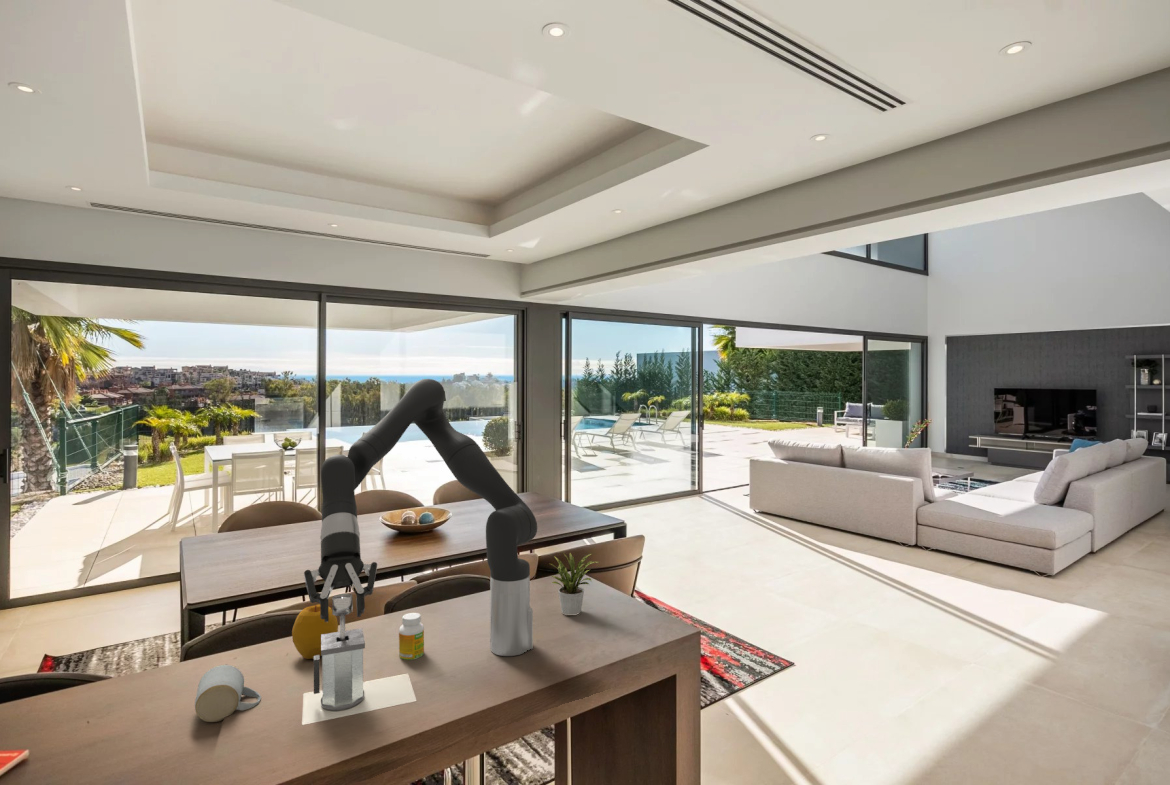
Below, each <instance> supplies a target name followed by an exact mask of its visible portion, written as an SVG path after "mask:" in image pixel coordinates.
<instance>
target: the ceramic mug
mask: <svg viewBox="0 0 1170 785" xmlns="http://www.w3.org/2000/svg"><path fill="white" fill-rule="evenodd" d="M244 685H245V677H244V674H243V673H242V671H241V670H240V669H239V668H237V667H236V666H233V665H229V664H221V665H217V666H214V667H211V668H210V669H209V670H207V671H206V672H205V673H204V674H203V675H202V677H201V678H200V680H199V682H198V685H197V686H198V687H197V691H196V695H195V700H194V708H195V709H194V710H195V713H196V715H197V716H198V718H199V719H200V720H201V721H204V722H206V723H218V722H221V721H224V720H225V718H227V717H229V716H231V715H232V714H234V712H235V711H245V710H249V709H252V708H254V707H256V706H257V705H259V703H260V702H261V700H262V696H261V694H260V693H259V692H258V691H256V690H255V689H253V688H251V687H249V686H244ZM242 696H244V697H251V698H253V697H254V698H256V700H257V701H255V702H244V701H241V698H242Z"/></svg>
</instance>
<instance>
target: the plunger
mask: <svg viewBox="0 0 1170 785" xmlns="http://www.w3.org/2000/svg"><path fill="white" fill-rule="evenodd" d="M331 601H332V602H331V603H332V605H331V606H332V607H331V609H332V614H333V615H335V616H336V617H339V632H340V641H345V631H346V616H347V615H351V613H353V609H354V608H353V604H354V603H353V594H352V593H339V594H336V595H334V596H332V600H331Z"/></svg>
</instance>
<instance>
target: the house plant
mask: <svg viewBox="0 0 1170 785" xmlns="http://www.w3.org/2000/svg"><path fill="white" fill-rule="evenodd" d="M562 553H563V555H564V557H565V558H566V559H567V561H568V565H569V566H568V567H569V572H570V573H569V572H568V570H567V567H566V566H565V564H564V563H563V562H562V561H561V560H560V559H559V558H558V557H556V556H554V558H555V560H556V561H557V563H558V566H557V567H556V566H555V565H554V564H552V563H550V565H551V566H553V567H555V568H556V569H557V570H558V573H556V575H557V576H556V575H551V577H552V578H554V579H556V580H557V581H552V582H551V584H555V585H556V584H557V585H559V586H561V587H559V588H558V597H559V603H560V610H561V614H562V613H564V614H577V613H580V612H581V613H582V606H583V599H584V593H585V588H583V587H582V586H580V585H589V586H590V583H589V582H587V581H590V582H591V583H593V582H592V578H590V577H585V578H583V577H584V576H585V575H586V574H587V573H588V572H589V571H590V569H587V570H586V568H587V567H588V566H590V565H591V564H594V563H596V564H597V563H598V561H593V560H590V561H588V562H587V563H584V562H585V561H586V560H587V558H588V557H589V556H591V555H592V553H590V554H587V555H585V556H584V557H583V558H582V559H581V560H580V561H579V562H578V563H577V566H576V563H575V558H574V556H573V555H572V553H571V552H569V555H568V554H567V555H566V554H565V552H562ZM575 566H576V567H575ZM575 568H576V569H575ZM558 575H559V576H560V577H558ZM558 581H559V582H558ZM560 582H561V583H562V584H561V583H560ZM581 613H580V614H581Z"/></svg>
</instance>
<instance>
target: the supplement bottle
mask: <svg viewBox="0 0 1170 785" xmlns="http://www.w3.org/2000/svg"><path fill="white" fill-rule="evenodd" d="M421 617H422V615H421V614H420V613H418V612H409V613H405V614H404V615H403V616H402V620H401V623H402V625H400V627H399V630H398V631H399V632H398V645H399V646H398V649H399V651H398V657H399V658H400V659H401V660H405V661H409V660H416V659H419V658H421V657H422V656H423V655H424V654H425V628H424V624H423V623H422V622H421V620H422V618H421Z"/></svg>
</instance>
